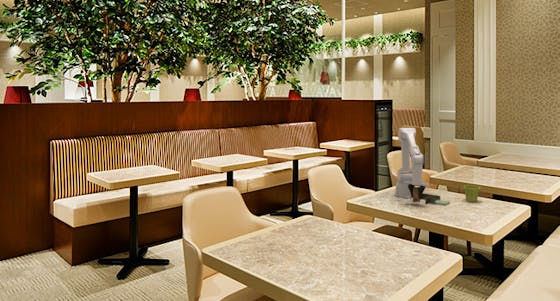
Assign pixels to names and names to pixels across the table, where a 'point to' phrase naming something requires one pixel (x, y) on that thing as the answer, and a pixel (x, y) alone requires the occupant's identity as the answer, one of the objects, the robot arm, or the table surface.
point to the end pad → (441, 202)
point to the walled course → (430, 198)
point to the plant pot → (471, 193)
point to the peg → (416, 194)
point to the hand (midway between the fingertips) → (416, 197)
